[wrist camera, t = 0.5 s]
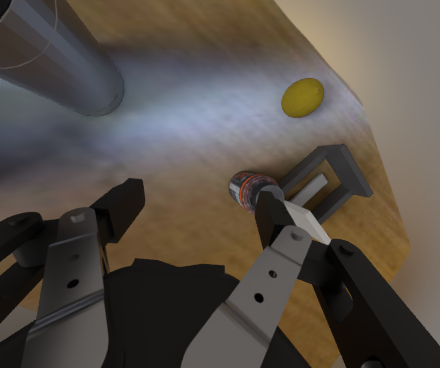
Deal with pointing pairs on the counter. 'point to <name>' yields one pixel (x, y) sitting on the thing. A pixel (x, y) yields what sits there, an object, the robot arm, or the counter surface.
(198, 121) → the counter surface
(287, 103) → the lemon
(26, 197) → the counter surface
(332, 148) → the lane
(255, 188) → the supplement bottle
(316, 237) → the plate
